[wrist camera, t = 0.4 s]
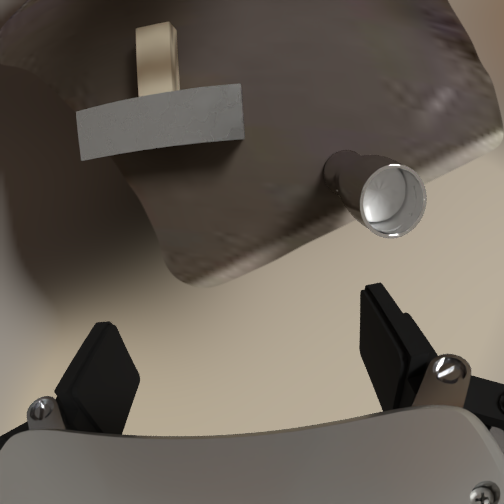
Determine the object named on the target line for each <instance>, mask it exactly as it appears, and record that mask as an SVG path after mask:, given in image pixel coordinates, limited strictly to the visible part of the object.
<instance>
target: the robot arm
mask: <svg viewBox="0 0 504 504" xmlns="http://www.w3.org/2000/svg"><path fill="white" fill-rule="evenodd" d="M360 354H361V357H362V360H363V362H364V364H365V367H366V369H367V372H368V374H369V377H370V379H371V382H372V384H373V387H374V389H375V392H376V394H377V397H378V399H379V402H380V405H381V407H382V410H383V412H379V413H374V414H369V415H364V416H360V417H355V418H350V419H345V420H340V421H334V422H328V423H323V424H317V425H311V426H305V427H298V428H291V429H284V430H276V431H267V432H257V433H246V434H233V435H216V436H136V435H122V432H123V429H124V426H125V423H126V420H127V417H128V414H129V412H130V408H131V406H132V403H133V400H134V397H135V394H136V391H137V389H138V385H139V383H140V376H139V373H138V371H137V369H136V367H135V365H134V363H133V361H132V359H131V357H130V355H129V353H128V351H127V349H126V347H125V345H124V342H123V340H122V338H121V336H120V334H119V331H118V329H117V327H116V326H115V325H113V324H112V323H111V322H98V323H96V324H95V325H94V327H93V328H92V330H91V331H90V333H89V335H88V336H87V338H86V339H85V341H84V342H83V344H82V346H81V347H80V349H79V350H78V352H77V354H76V355H75V357H74V358H73V360H72V362H71V363H70V365H69V367H68V368H67V370H66V372H65V373H64V375H63V377H62V378H61V380H60V382H59V384H58V385H57V387H56V389H55V393H56V395H57V398H56V400H55V399H54V398H53V397H50V396H44V397H41V398H39V399H37V400H35V401H34V402H33V403H32V404H31V405H30V407H29V408H28V411H27V422H26V423H24V424H22V425H20V426H18V427H16V428H15V429H13V430H11V431H9V432H7V433H6V434H4V435H2V436H0V504H504V384H500V383H497V382H493V381H489V380H486V379H482V378H479V377H475V376H471V367H470V365H469V363H468V362H467V361H466V360H465V359H463V358H462V357H460V356H457V355H453V354H443V355H440V356H438V355H437V353H436V352H435V350H434V349H433V348H432V346H431V345H430V343H429V342H428V340H427V339H426V337H425V336H424V335H423V333H422V331H421V330H420V328H419V327H418V326H417V324H416V323H415V321H414V320H413V319H412V317H411V316H410V315H409V314H408V313H402V311H401V310H400V309H399V307H398V306H397V304H396V303H395V301H394V300H393V298H392V297H391V296H390V294H389V293H388V291H387V290H386V289H385V287H384V286H383V285H382V284H381V283H376V284H371V285H366V286H365V290H361V295H360Z"/></svg>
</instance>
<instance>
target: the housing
mask: <svg viewBox="0 0 504 504" xmlns="http://www.w3.org/2000/svg"><path fill="white" fill-rule="evenodd" d="M76 118H77V128H78V138H79V147H80V154H81V161H84V160H89V159H94V158H100V157H105V156H110V155H116V154H122V153H128V152H134V151H140V150H147V149H154V148H161V147H169V146H177V145H185V144H194V143H204V142H214V141H226V140H239V139H245V129H244V114H243V99H242V88H241V84H230V85H219V86H209V87H200V88H192V89H184V90H177V91H171V92H164V93H158V94H152V95H147V96H141V97H136V98H131V99H126V100H122V101H117V102H113V103H108V104H104V105H100V106H96V107H92V108H88V109H84V110H81V111H77V112H76Z"/></svg>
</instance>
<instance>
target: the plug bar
mask: <svg viewBox="0 0 504 504" xmlns="http://www.w3.org/2000/svg"><path fill="white" fill-rule="evenodd" d="M136 56H137V78H138V94H139V97H141V96H147V95H152V94H158V93H164V92H171V91H177V90H180V85H179V69H178V50H177V30H176V29H175V28H174V27H173V26H172V24H171V23H170V22H164V23H159V24H154V25H149V26H145V27H140V28H136Z"/></svg>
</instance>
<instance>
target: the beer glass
mask: <svg viewBox="0 0 504 504" xmlns="http://www.w3.org/2000/svg"><path fill="white" fill-rule="evenodd" d="M324 180H325V183H326V185H327V187H328V188H329V189H330V190H331V191H332V192H333V193H335V194H337V195H339V196H340V198H341V200H342V202H343V204H344V206H345V207H346V209H347V210H348V211H349V213H350V214H351V215H352V216H353V217H354V218H355V219H356V220H357V221H359V222H360V223H361V224H362V225H364V226H365V227H367V228H368V229H370V231H372V232H373V233H374V234H376V235H378V236H381V237H384V238H397V237H401V236H403V235H405V234H407V233H409V232H410V231H411V230H412V229H414V228H415V227H416V225H417V224H418V223H419V222H420V220H421V218H422V216H423V214H424V211H425V207H426V190H425V186H424V183H423V181H422V179H421V178H420V176H419V175H418V174H417V173H416V172H415V171H414V170H412V169H411V168H409V167H407V166H405V165H403V164H401V163H399V162H397V161H395V160H393V159H390V158H388V157H384V156H380V155H360V154H358V153H357V152H354V151H351V150H341V151H338V152H336V153H334V154H333V155H332V156H331V157H330V158H329V159H328V160H327V162H326V164H325V167H324Z"/></svg>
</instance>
